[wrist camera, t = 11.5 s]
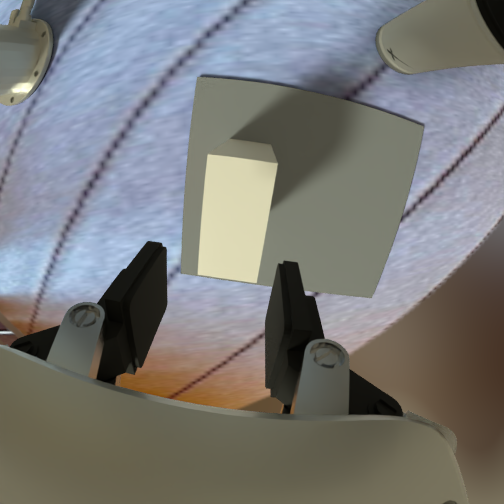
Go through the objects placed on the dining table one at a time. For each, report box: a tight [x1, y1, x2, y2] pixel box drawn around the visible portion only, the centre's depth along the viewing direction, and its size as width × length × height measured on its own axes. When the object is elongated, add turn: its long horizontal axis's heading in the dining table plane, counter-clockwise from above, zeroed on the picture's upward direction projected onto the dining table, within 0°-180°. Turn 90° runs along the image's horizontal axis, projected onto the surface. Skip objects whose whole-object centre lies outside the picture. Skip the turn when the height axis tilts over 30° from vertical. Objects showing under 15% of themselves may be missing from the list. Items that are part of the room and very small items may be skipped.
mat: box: [181, 77, 424, 298], centre depth 29 cm, size 22×24×1 cm
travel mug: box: [376, 0, 504, 75], centre depth 12 cm, size 6×7×20 cm
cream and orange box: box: [198, 139, 278, 283], centre depth 23 cm, size 8×4×12 cm, turn 172°
